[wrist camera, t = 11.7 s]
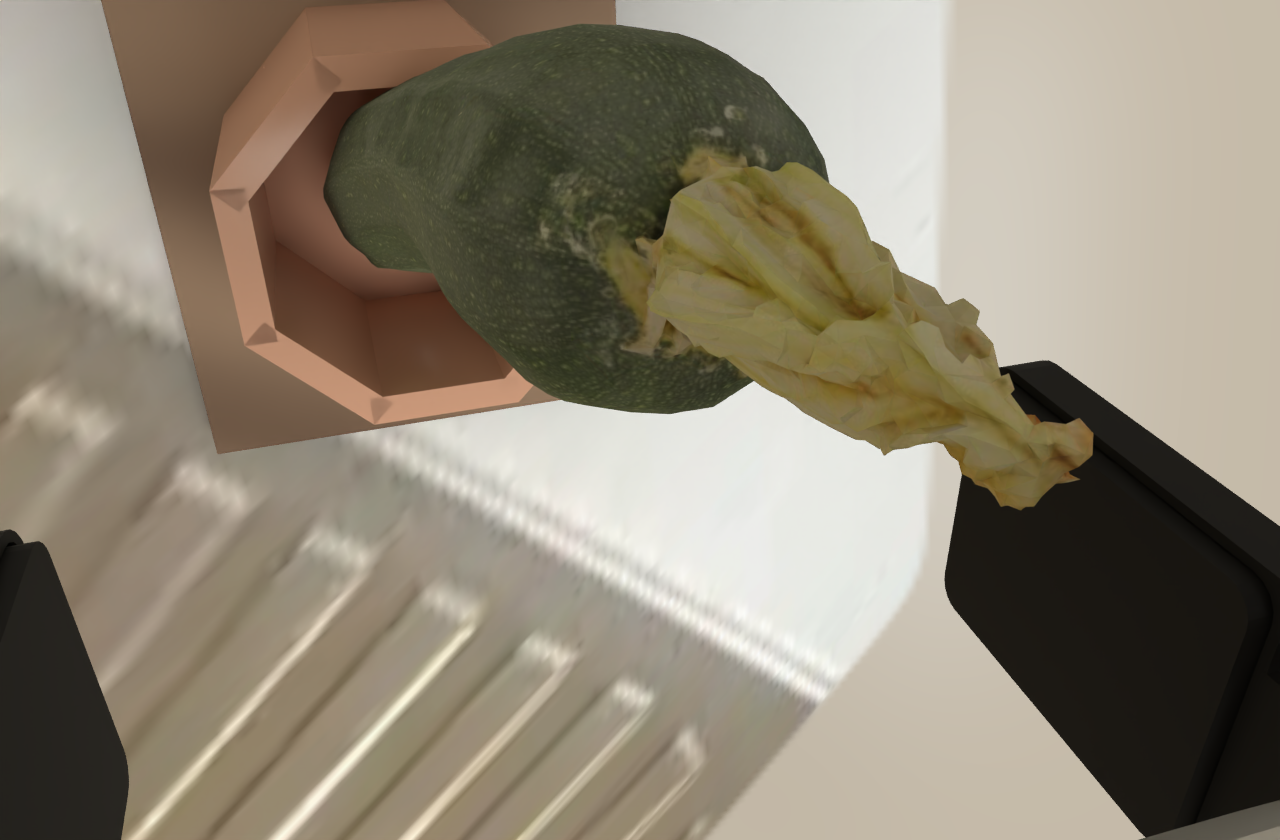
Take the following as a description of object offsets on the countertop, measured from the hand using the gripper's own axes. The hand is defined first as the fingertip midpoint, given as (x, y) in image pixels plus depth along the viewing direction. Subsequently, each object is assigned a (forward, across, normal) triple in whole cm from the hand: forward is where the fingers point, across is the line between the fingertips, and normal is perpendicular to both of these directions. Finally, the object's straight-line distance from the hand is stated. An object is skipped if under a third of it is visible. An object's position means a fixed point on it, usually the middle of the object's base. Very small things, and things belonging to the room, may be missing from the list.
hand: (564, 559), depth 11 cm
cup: (+17, 0, +1) cm, 17 cm away
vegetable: (+16, 0, +1) cm, 16 cm away
